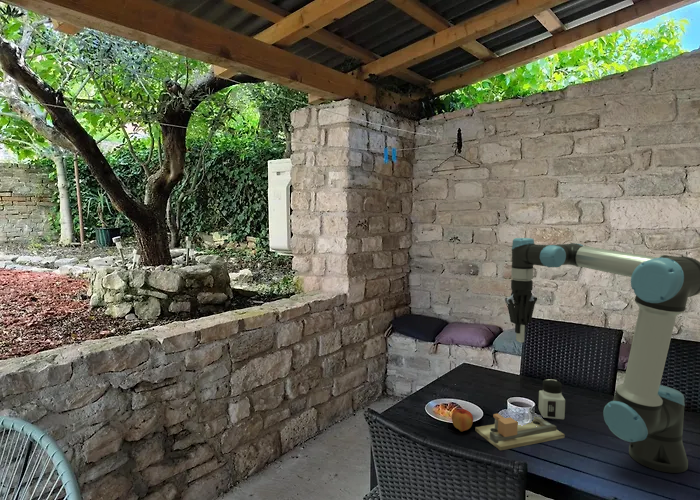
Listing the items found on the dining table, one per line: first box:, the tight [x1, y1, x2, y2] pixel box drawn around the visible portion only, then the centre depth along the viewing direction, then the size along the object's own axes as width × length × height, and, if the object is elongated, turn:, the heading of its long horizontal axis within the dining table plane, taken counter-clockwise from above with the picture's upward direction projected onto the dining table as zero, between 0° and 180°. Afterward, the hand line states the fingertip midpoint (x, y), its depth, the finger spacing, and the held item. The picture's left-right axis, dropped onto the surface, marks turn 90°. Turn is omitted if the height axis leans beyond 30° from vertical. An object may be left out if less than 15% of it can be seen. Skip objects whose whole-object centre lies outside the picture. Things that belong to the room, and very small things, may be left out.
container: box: [538, 378, 566, 420], centre depth 170 cm, size 8×8×13 cm
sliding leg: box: [492, 413, 518, 437], centre depth 152 cm, size 8×5×6 cm, turn 18°
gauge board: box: [474, 416, 566, 451], centre depth 155 cm, size 14×26×4 cm, turn 108°
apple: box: [451, 406, 474, 432], centre depth 158 cm, size 7×7×8 cm
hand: (520, 341), depth 169 cm, fingers closed
